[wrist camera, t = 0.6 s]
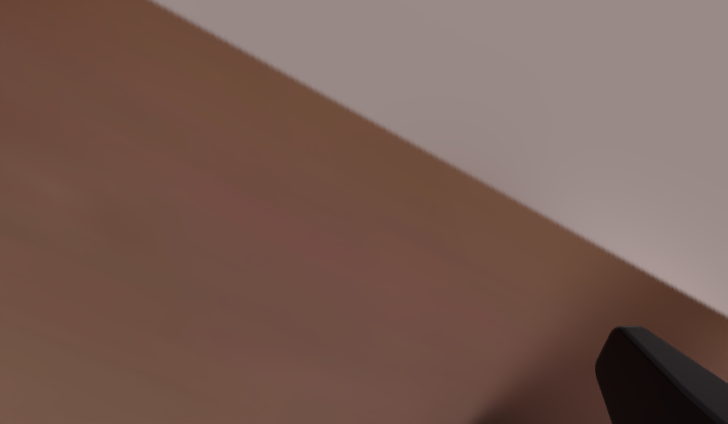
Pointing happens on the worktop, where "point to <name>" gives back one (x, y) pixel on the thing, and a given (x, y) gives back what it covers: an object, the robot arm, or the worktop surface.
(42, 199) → the worktop surface
